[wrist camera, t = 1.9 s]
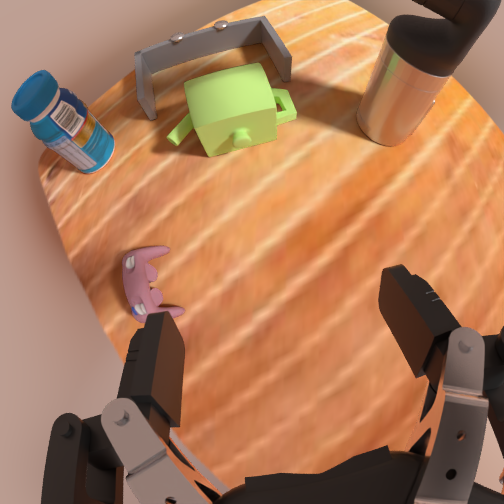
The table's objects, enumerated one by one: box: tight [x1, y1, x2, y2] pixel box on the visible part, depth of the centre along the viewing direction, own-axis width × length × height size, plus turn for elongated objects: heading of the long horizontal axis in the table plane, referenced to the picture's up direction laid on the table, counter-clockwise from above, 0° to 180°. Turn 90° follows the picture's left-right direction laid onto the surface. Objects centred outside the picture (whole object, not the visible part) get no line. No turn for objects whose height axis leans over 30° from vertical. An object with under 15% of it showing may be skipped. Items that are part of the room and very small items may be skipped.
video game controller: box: [122, 246, 185, 323], centre depth 35 cm, size 10×5×7 cm, turn 16°
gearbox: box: [166, 63, 297, 157], centre depth 37 cm, size 18×10×10 cm, turn 104°
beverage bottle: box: [11, 70, 115, 174], centre depth 33 cm, size 8×8×20 cm
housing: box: [135, 16, 292, 121], centre depth 41 cm, size 24×14×7 cm, turn 106°
